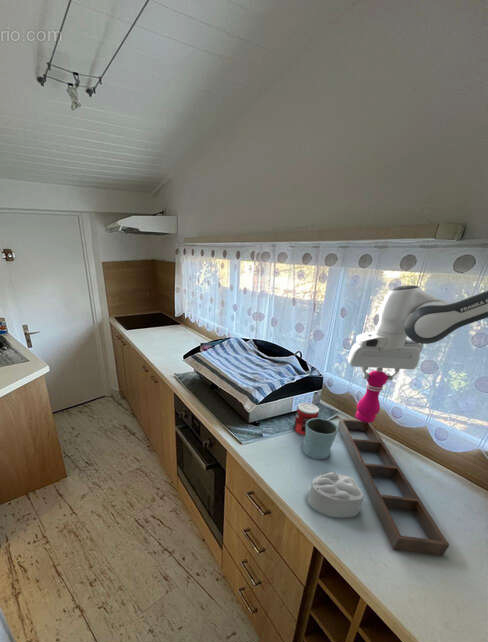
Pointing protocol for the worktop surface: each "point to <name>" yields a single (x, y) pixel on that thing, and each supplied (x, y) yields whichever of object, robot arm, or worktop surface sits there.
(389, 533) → the cubby organizer
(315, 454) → the grey-green cup
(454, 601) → the worktop surface
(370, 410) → the pepper mill
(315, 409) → the canned food
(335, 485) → the lumpy-topped squat cylinder
